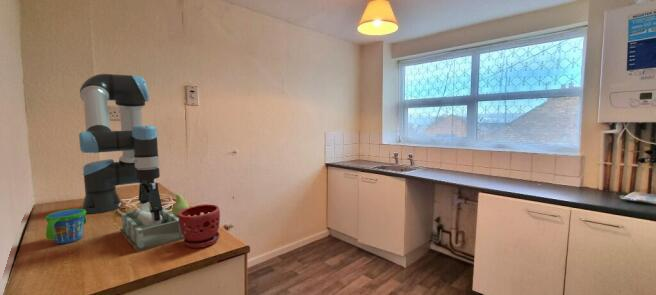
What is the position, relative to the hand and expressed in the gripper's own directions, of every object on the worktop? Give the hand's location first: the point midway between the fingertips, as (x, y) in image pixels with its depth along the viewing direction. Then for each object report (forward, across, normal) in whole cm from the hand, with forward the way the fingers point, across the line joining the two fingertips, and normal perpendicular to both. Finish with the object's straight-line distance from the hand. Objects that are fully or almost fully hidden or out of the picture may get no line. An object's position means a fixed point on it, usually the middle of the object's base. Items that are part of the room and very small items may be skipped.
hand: (151, 224), depth 108 cm
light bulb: (0, -3, -3) cm, 4 cm away
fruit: (+4, -14, +15) cm, 21 cm away
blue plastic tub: (+4, -17, -22) cm, 28 cm away
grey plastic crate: (+4, 0, 0) cm, 4 cm away
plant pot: (+4, +20, +10) cm, 23 cm away
